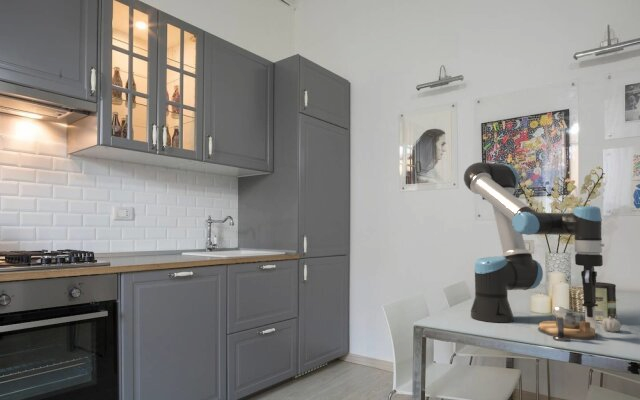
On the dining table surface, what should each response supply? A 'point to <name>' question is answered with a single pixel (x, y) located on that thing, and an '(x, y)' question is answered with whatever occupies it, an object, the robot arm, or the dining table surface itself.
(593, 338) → the turntable base
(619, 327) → the garlic
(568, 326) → the cast cover
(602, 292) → the coffee can
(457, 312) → the dining table surface
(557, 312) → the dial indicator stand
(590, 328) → the turntable
